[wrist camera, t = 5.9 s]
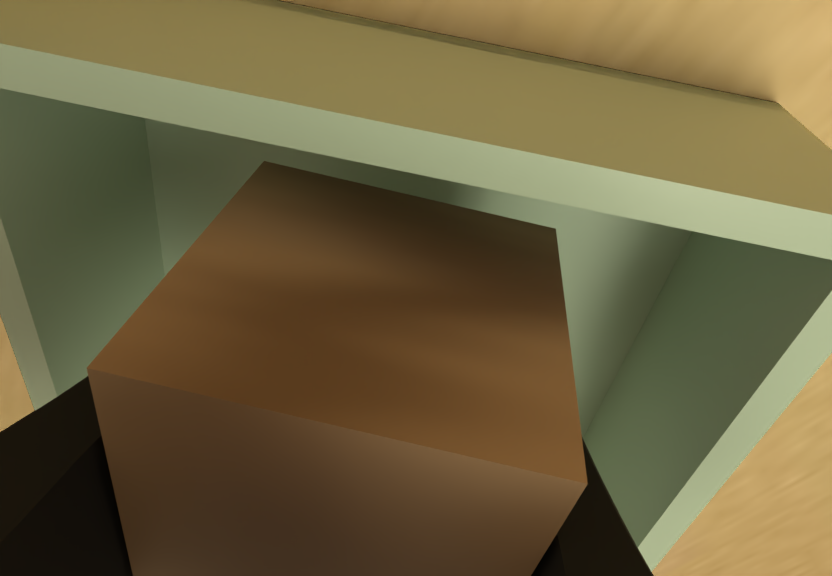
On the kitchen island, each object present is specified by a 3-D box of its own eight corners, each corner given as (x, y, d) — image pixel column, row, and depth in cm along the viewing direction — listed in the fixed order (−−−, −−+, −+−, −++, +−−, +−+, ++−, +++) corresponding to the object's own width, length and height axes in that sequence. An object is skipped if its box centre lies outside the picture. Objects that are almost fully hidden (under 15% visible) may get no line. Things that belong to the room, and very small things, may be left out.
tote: (530, 554, 21) (535, 712, 17) (184, 481, 22) (110, 621, 18) (777, 103, 11) (929, 234, 7) (112, -34, 11) (-106, 21, 7)
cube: (555, 228, 10) (587, 483, 6) (480, 421, 13) (467, 679, 9) (264, 160, 10) (86, 368, 6) (257, 370, 13) (139, 603, 9)
